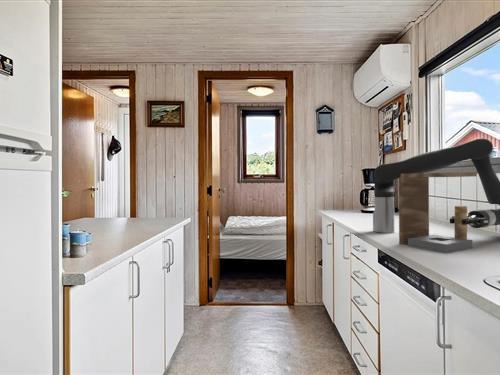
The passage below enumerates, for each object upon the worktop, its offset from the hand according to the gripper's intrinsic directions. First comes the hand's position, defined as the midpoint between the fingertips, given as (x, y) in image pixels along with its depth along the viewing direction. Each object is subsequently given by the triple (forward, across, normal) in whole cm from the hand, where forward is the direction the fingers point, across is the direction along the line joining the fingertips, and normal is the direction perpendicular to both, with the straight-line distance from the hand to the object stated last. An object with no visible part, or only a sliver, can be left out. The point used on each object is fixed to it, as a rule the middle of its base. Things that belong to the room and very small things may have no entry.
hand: (456, 221), depth 151 cm
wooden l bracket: (+10, -2, +9) cm, 14 cm away
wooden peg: (-3, 0, +8) cm, 8 cm away
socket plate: (+11, 0, +9) cm, 14 cm away
